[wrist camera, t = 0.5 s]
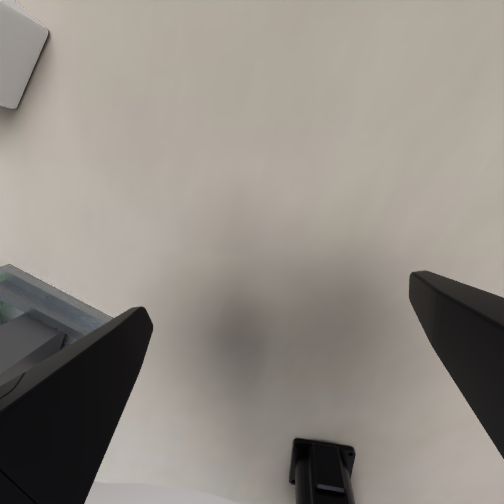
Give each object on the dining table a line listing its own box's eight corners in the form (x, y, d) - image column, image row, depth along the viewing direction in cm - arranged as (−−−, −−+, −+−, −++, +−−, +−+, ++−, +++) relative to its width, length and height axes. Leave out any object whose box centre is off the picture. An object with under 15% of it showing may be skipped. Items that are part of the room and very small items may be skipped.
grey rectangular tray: (121, 322, 27) (102, 339, 25) (98, 381, 30) (78, 402, 27) (9, 263, 27) (-24, 274, 24) (-4, 328, 30) (-35, 345, 27)
